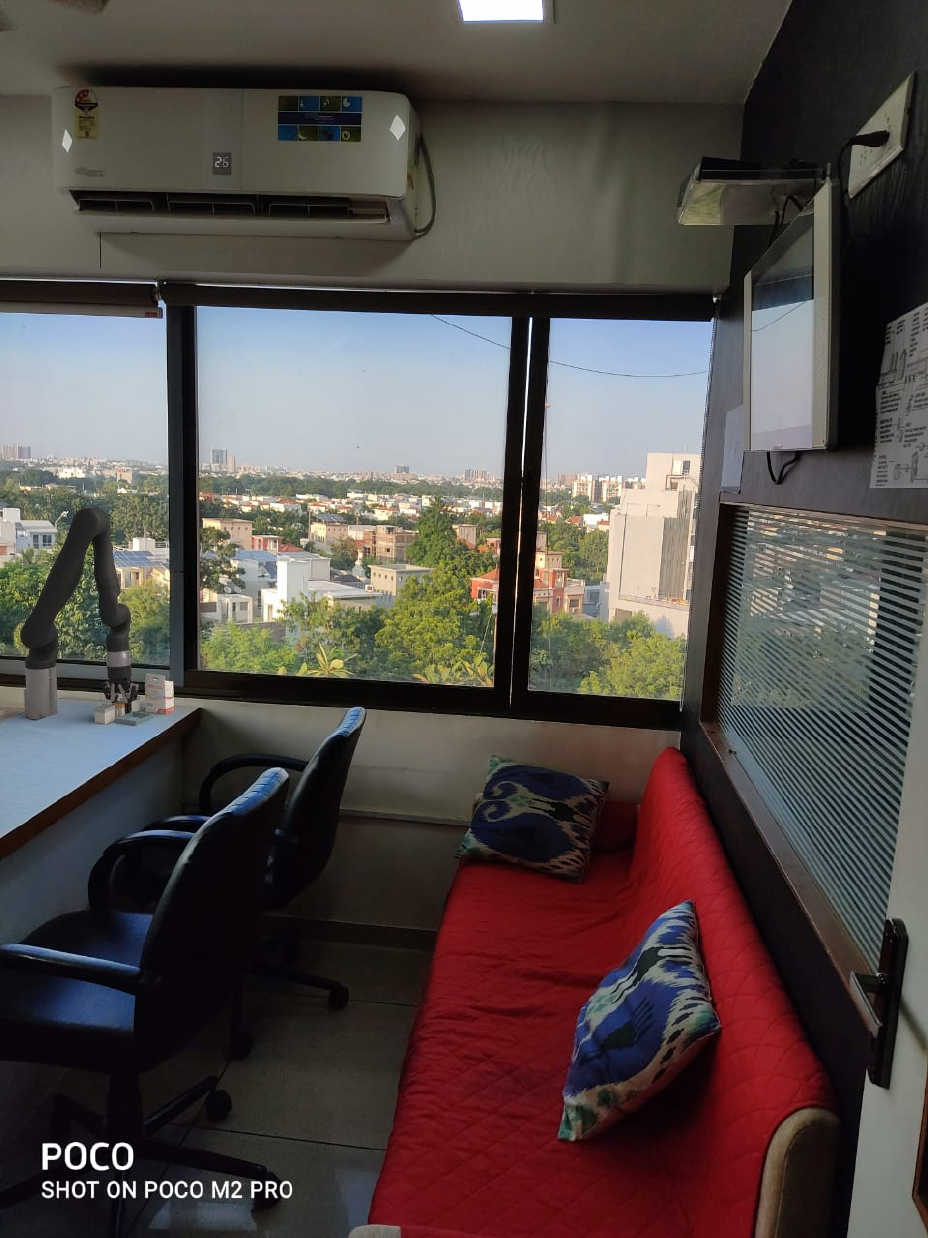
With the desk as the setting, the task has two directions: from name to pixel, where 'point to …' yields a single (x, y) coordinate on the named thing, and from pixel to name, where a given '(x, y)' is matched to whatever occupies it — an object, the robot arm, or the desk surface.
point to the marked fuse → (120, 707)
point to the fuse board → (112, 712)
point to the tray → (124, 720)
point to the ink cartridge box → (158, 694)
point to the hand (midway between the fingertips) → (122, 712)
